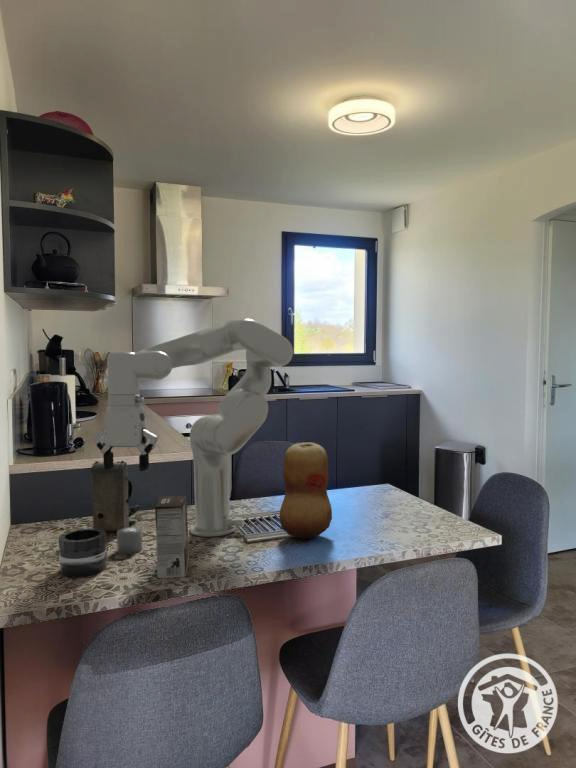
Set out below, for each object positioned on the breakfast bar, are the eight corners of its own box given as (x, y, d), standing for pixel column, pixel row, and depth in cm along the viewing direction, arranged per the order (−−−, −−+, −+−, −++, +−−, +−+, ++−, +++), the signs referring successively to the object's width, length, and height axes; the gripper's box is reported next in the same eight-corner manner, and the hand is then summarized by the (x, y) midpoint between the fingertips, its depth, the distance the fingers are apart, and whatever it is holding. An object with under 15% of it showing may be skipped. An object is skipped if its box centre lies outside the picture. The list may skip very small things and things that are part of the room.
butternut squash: (294, 549, 144) (291, 449, 143) (272, 534, 156) (270, 442, 155) (342, 540, 150) (340, 444, 149) (317, 527, 162) (316, 438, 161)
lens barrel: (115, 562, 138) (114, 529, 137) (91, 579, 128) (89, 543, 127) (77, 559, 140) (75, 527, 140) (50, 576, 130) (48, 540, 130)
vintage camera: (145, 519, 175) (142, 453, 175) (125, 533, 160) (122, 461, 160) (114, 520, 176) (111, 454, 176) (92, 534, 161) (89, 462, 161)
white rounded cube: (146, 547, 149) (145, 527, 149) (135, 555, 143) (134, 534, 143) (125, 545, 150) (124, 525, 150) (113, 553, 144) (112, 532, 144)
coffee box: (161, 564, 136) (159, 496, 135) (189, 562, 137) (187, 494, 136) (156, 579, 127) (153, 506, 126) (186, 577, 128) (183, 504, 127)
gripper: (162, 400, 146) (164, 467, 147) (101, 400, 151) (103, 465, 152) (148, 402, 139) (150, 473, 140) (84, 402, 143) (87, 471, 144)
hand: (126, 469), depth 146 cm, fingers open, 9 cm apart
